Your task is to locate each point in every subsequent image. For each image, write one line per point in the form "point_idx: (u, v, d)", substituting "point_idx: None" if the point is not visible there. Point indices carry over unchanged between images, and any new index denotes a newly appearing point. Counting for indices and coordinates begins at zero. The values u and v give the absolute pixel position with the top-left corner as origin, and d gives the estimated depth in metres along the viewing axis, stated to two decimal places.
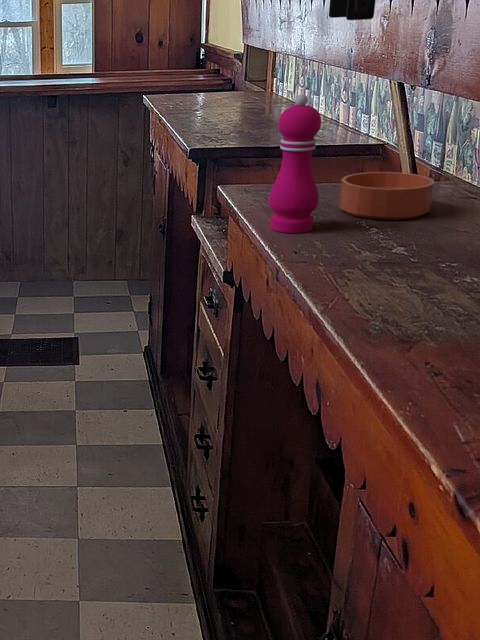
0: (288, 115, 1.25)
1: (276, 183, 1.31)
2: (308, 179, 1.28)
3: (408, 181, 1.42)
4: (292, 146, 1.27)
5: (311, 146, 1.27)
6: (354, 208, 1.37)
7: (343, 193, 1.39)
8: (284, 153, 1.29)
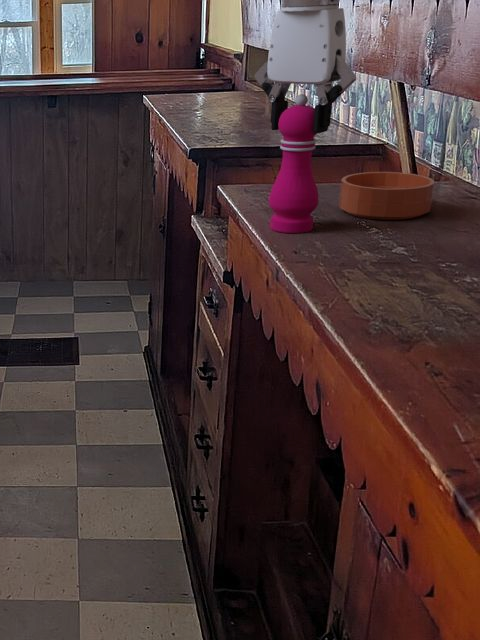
0: (288, 115, 1.25)
1: (276, 183, 1.31)
2: (308, 179, 1.28)
3: (408, 181, 1.42)
4: (292, 146, 1.27)
5: (311, 146, 1.27)
6: (354, 208, 1.37)
7: (343, 193, 1.39)
8: (284, 153, 1.29)
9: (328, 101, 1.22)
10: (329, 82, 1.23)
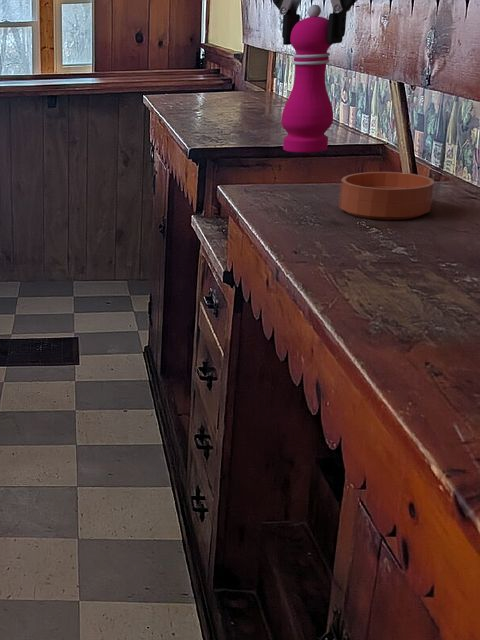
0: (300, 26, 1.21)
1: (289, 101, 1.26)
2: (322, 94, 1.23)
3: (408, 181, 1.42)
4: (305, 59, 1.22)
5: (325, 59, 1.22)
6: (354, 208, 1.37)
7: (343, 193, 1.39)
8: (297, 68, 1.24)
9: (342, 8, 1.17)
10: None
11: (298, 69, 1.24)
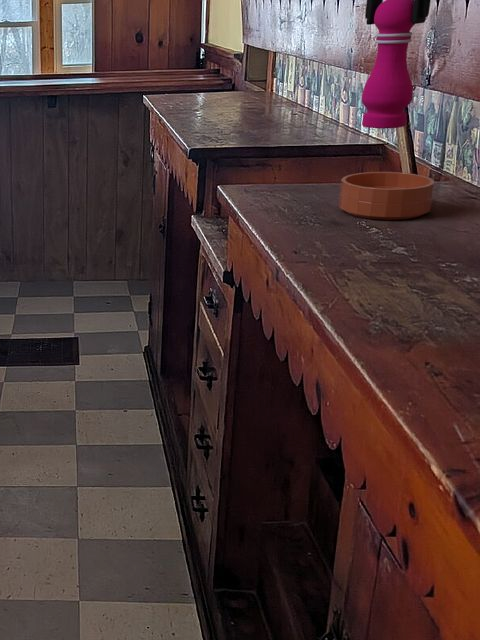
0: (386, 6, 1.26)
1: (370, 78, 1.31)
2: (404, 72, 1.29)
3: (408, 181, 1.42)
4: (389, 38, 1.27)
5: (408, 38, 1.27)
6: (354, 208, 1.37)
7: (343, 193, 1.39)
8: (380, 47, 1.29)
9: None
10: None
11: (381, 48, 1.29)
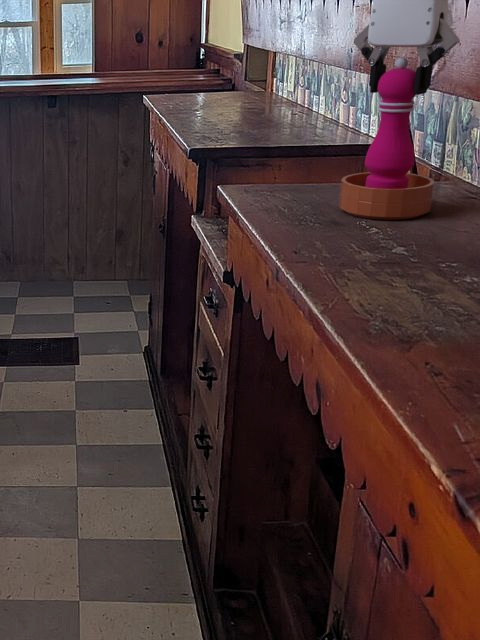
0: (389, 77, 1.31)
1: (374, 144, 1.36)
2: (406, 139, 1.34)
3: (408, 181, 1.42)
4: (392, 107, 1.32)
5: (410, 107, 1.32)
6: (354, 208, 1.37)
7: (343, 193, 1.39)
8: (383, 115, 1.34)
9: (430, 63, 1.27)
10: (430, 45, 1.28)
11: (384, 116, 1.34)
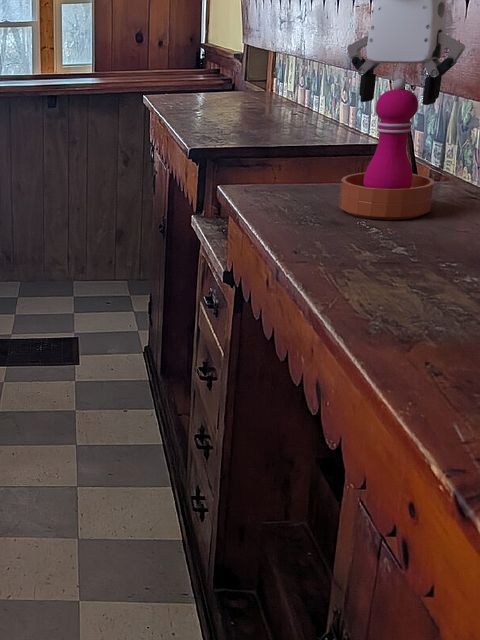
0: (387, 98, 1.32)
1: (372, 164, 1.37)
2: (404, 160, 1.35)
3: None
4: (390, 128, 1.33)
5: (408, 128, 1.33)
6: (354, 208, 1.37)
7: (343, 193, 1.39)
8: (381, 135, 1.35)
9: (439, 72, 1.27)
10: (434, 56, 1.28)
11: (382, 136, 1.35)
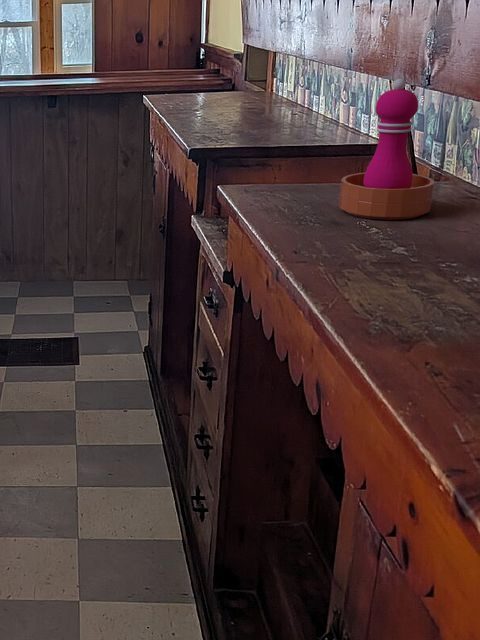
0: (387, 98, 1.32)
1: (372, 164, 1.37)
2: (404, 160, 1.35)
3: None
4: (390, 128, 1.33)
5: (408, 128, 1.33)
6: (354, 208, 1.37)
7: (343, 193, 1.39)
8: (381, 135, 1.35)
9: None
10: None
11: (382, 136, 1.35)
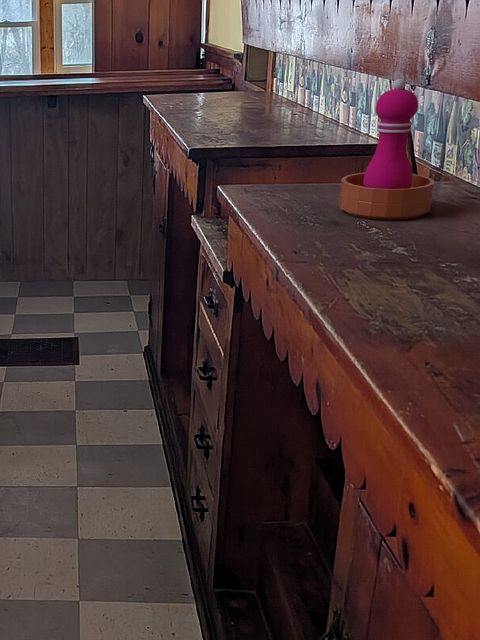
0: (387, 98, 1.32)
1: (372, 164, 1.37)
2: (404, 160, 1.35)
3: None
4: (390, 128, 1.33)
5: (408, 128, 1.33)
6: (354, 208, 1.37)
7: (343, 193, 1.39)
8: (381, 135, 1.35)
9: None
10: None
11: (382, 136, 1.35)
